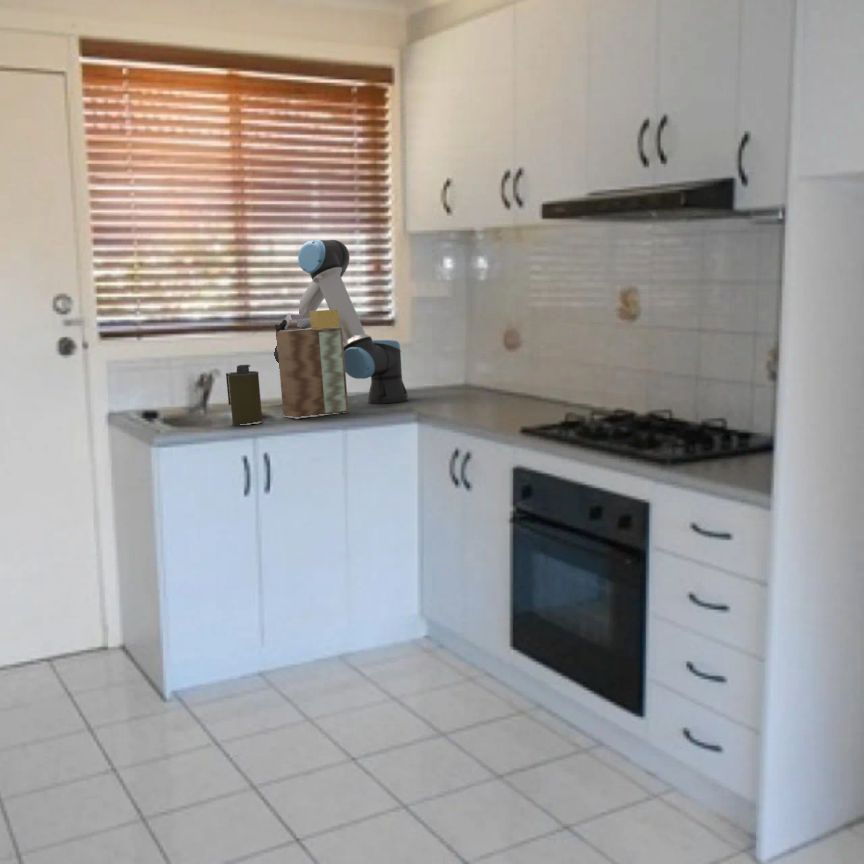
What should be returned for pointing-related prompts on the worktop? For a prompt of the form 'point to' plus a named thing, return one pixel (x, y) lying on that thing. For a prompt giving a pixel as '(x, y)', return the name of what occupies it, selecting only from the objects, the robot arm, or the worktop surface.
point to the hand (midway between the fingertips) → (305, 315)
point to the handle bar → (320, 320)
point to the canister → (244, 395)
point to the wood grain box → (312, 371)
